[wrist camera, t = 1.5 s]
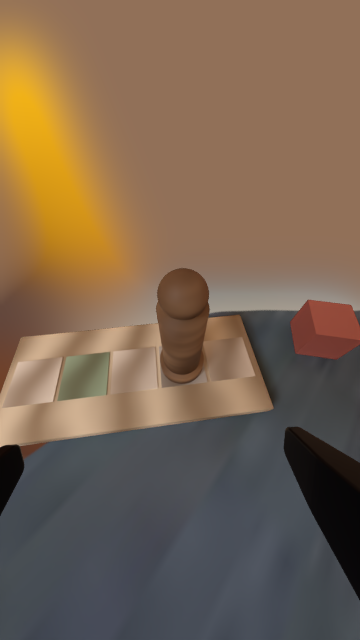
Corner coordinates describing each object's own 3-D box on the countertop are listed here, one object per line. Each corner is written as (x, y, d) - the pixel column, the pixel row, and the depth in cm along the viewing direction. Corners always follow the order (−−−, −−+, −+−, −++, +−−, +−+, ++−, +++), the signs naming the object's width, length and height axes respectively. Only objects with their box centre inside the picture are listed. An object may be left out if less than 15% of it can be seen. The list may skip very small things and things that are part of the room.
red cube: (326, 327, 26) (351, 305, 22) (335, 359, 23) (365, 340, 20) (289, 322, 26) (308, 299, 22) (295, 353, 24) (316, 334, 20)
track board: (237, 320, 26) (239, 314, 25) (269, 410, 20) (274, 408, 19) (27, 342, 24) (20, 337, 23) (-10, 449, 18) (-21, 449, 17)
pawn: (209, 356, 22) (234, 265, 12) (190, 392, 20) (201, 319, 10) (174, 338, 23) (170, 243, 13) (152, 370, 21) (127, 286, 11)
